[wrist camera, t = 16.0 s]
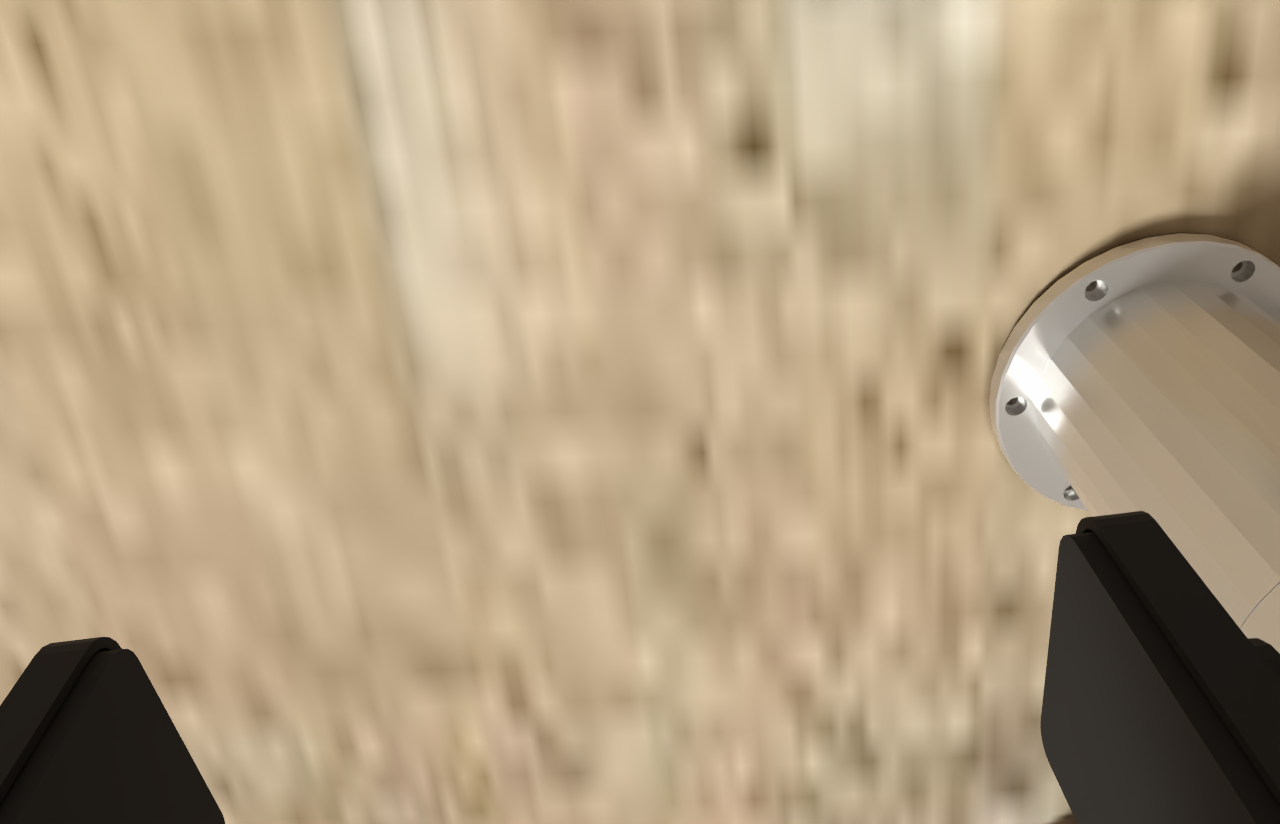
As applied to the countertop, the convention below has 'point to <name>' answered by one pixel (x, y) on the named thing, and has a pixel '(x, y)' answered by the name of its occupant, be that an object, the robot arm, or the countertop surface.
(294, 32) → the countertop surface
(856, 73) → the countertop surface
